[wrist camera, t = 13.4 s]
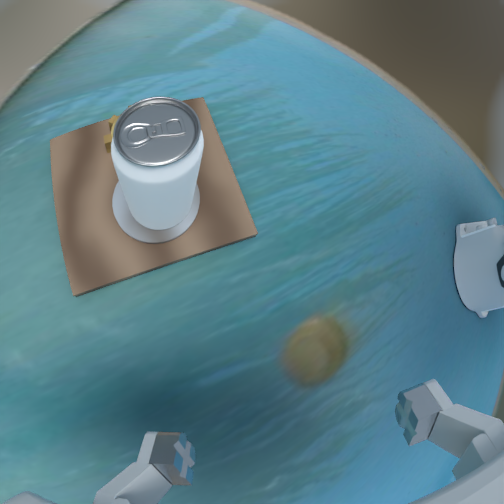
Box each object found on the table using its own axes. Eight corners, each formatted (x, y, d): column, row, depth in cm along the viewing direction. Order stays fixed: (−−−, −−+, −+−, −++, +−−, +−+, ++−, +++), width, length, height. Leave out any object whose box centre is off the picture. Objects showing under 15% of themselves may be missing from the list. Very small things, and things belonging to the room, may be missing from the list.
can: (123, 180, 26) (103, 103, 15) (183, 165, 28) (195, 85, 17) (135, 239, 26) (112, 184, 14) (199, 221, 28) (219, 159, 16)
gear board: (202, 103, 33) (208, 73, 28) (254, 236, 31) (271, 220, 26) (53, 144, 27) (38, 118, 21) (77, 296, 25) (56, 291, 19)
